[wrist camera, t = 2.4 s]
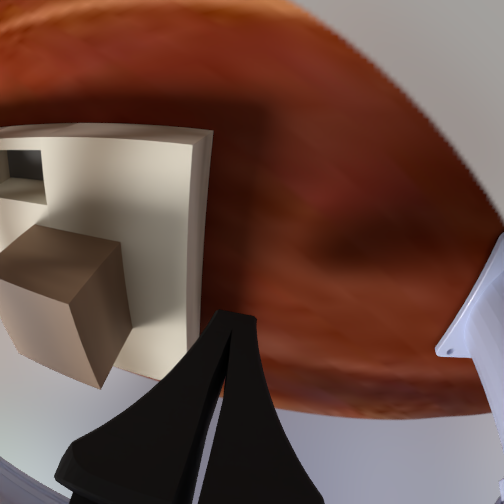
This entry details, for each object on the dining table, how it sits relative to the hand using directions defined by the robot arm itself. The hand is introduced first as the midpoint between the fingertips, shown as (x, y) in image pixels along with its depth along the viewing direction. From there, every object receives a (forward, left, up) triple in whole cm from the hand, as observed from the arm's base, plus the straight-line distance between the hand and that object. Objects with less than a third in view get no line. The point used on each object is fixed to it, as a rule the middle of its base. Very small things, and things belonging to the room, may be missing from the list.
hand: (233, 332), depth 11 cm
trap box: (+11, 0, -3) cm, 12 cm away
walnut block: (+7, 0, -1) cm, 7 cm away
